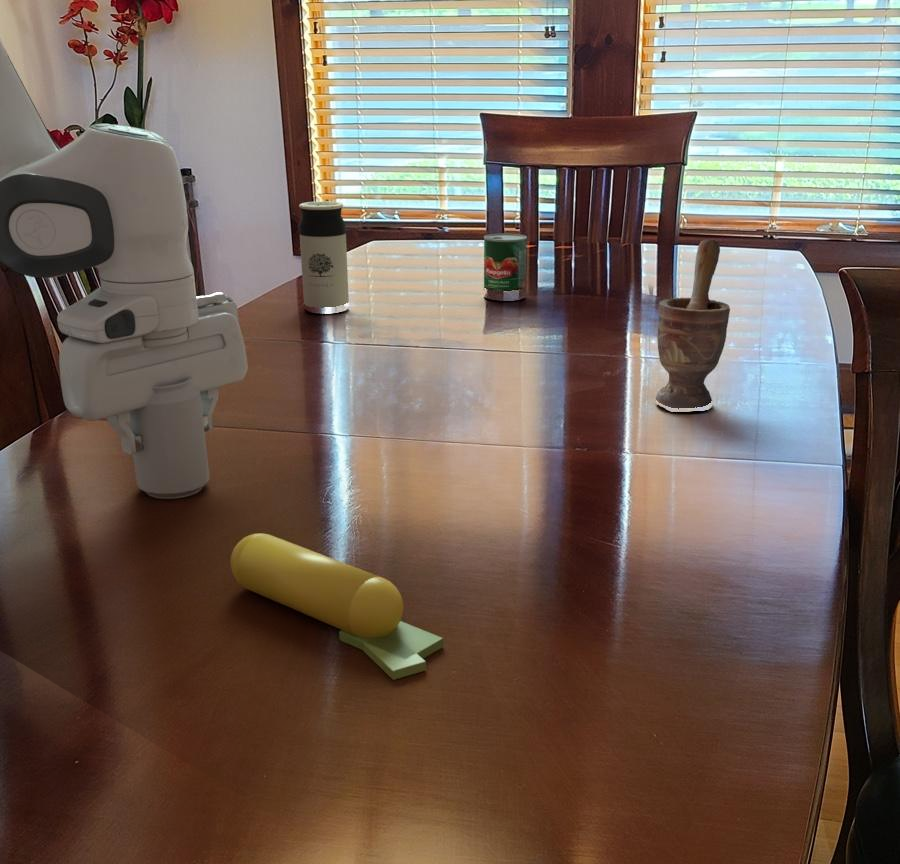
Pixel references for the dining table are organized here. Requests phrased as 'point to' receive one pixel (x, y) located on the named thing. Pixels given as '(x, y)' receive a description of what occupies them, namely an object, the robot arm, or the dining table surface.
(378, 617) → the corn cob
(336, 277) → the travel mug
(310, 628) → the dining table surface
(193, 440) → the can
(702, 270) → the mortar and pestle
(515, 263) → the canned tomato
